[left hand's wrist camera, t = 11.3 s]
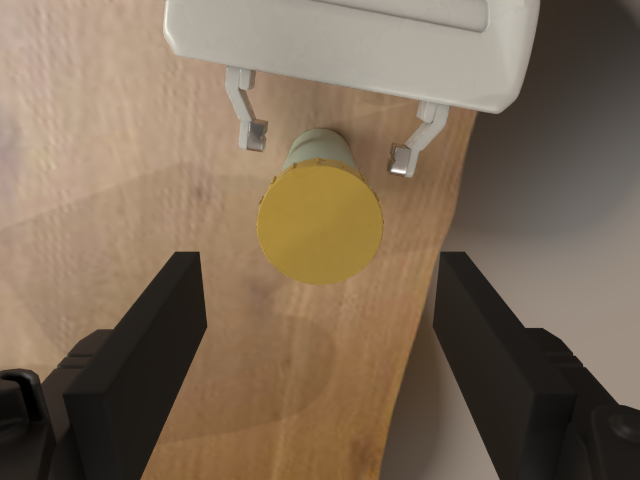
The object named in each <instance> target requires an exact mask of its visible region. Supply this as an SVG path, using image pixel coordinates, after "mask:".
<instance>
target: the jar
mask: <svg viewBox="0 0 640 480" xmlns="http://www.w3.org/2000/svg"><path fill="white" fill-rule="evenodd" d="M316 157H319V158H324V159H332V160H336V161H339V162H340V161H341V160H342V161H343V163H345V164H347V165H349V166H351V167H352V168H354V169H355V170H357V167H356V165H355V162H354V159H353V157H352V154H351V151H350V149H349V146H348V144H347V143H346V141H345V140H344V139H343V138H342V137H341V136H340V135H339V134H337V133H336V132H334V131H331V130H328V129H323V128H317V129H312V130H308V131H306V132H304V133H303V134H301V135H300V136H299V137H298V138H297V139H296V140H295V141H294V143H293V144H292V146H291V149H290V151H289V154H288V157H287V159H286V162H285V165H284V167H283V170H285V169H286V168H288V167H289V166H291V165H292V163H293V162H295V163H298V162H301V161H304V160H308V159H315V158H316ZM283 170H282V171H283ZM357 171H358V170H357Z"/></svg>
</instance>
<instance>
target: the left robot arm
mask: <svg viewBox="0 0 640 480" xmlns="http://www.w3.org/2000/svg"><path fill="white" fill-rule="evenodd" d="M206 328H207V319H206V310H205V300H204V291H203V281H202V272H201V262H200V253H199V252H175V253H174V254H173V255H172V257H171V258H170V259H169V260H168V262H167V263H166V264H165V265H164V267H163V268H162V269H161V270H160V272H159V273H158V274H157V275H156V277H155V278H154V279H153V280H152V282H151V283H150V284H149V285H148V287H147V288H146V289H145V290H144V292H143V293H142V294H141V295H140V297H139V298H138V299H137V301H136V302H135V303H134V304H133V306H132V307H131V308H130V309H129V311H128V312H127V313H126V314H125V316H124V317H123V318H122V319H121V321H120V322H119V323H118V324H117V326H116V327H115V328H114V329H98V330H96V331H95V332H93V333H91V334H90V335H88V336H87V337H85V338H83V339H82V340H80V341H79V342H78V343H77V344H76V345H75V347H74V348H73V349H72V350H71V351H70V352H69V353H68V354H67V357H65V358H64V359H63V360H62V361H61V362H60V363H59V365H58V366H57V369H54V370H53V371H52V372H51V374H50V375H49V376H48V377H47V378H46V379H45V380H44V381H43V383H42V384H41V383H40V380H39V376H38V375H37V374H36V373H34V372H33V371H32V370H26V369H10V370H3V371H0V480H140V479H141V477H142V474H143V472H144V470H145V467H146V465H147V463H148V461H149V458H150V456H151V454H152V452H153V449H154V447H155V445H156V442H157V440H158V438H159V436H160V433H161V431H162V429H163V426H164V424H165V422H166V420H167V417H168V415H169V413H170V410H171V408H172V406H173V404H174V401H175V399H176V397H177V395H178V392H179V390H180V388H181V385H182V383H183V381H184V379H185V376H186V374H187V372H188V369H189V367H190V365H191V363H192V360H193V358H194V356H195V353H196V351H197V349H198V347H199V344H200V342H201V340H202V338H203V335H204V333H205V331H206ZM433 328H434V331H435V333H436V335H437V338H438V340H439V342H440V344H441V347H442V349H443V351H444V353H445V356H446V358H447V360H448V362H449V365H450V367H451V369H452V372H453V374H454V376H455V379H456V381H457V383H458V385H459V388H460V390H461V392H462V394H463V397H464V399H465V401H466V404H467V406H468V408H469V410H470V413H471V415H472V417H473V420H474V422H475V424H476V426H477V429H478V431H479V433H480V436H481V438H482V440H483V442H484V445H485V447H486V449H487V452H488V454H489V456H490V458H491V461H492V463H493V465H494V467H495V470H496V472H497V474H498V477H499V479H500V480H640V410H637V409H634V408H631V407H628V406H625V405H619V404H618V403H617V402H616V401H615V400H614V398H613V397H612V396H611V395H610V394H609V393H608V392H607V391H606V389H605V388H604V387H603V386H602V385H601V384H600V383H599V382H598V381H597V379H596V378H595V377H594V376H593V375H592V374H591V373H590V372H589V370H588V369H587V368H586V367H583V364H582V363H581V361H580V360H579V359H578V358H577V357H576V356H573V353H572V351H571V350H570V349H569V348H568V347H567V346H566V345H565V344H564V342H563V341H562V340H561V339H559V338H558V337H556V336H554V335H553V334H551V333H550V332H548V331H546V330H545V329H543V328H525V327H524V326H523V324H522V323H521V322H520V321H519V319H518V318H517V317H516V316H515V314H514V313H513V312H512V311H511V309H510V308H509V307H508V306H507V304H506V303H505V302H504V301H503V299H502V298H501V297H500V295H499V294H498V293H497V292H496V290H495V289H494V288H493V287H492V285H491V284H490V283H489V282H488V280H487V279H486V278H485V277H484V275H483V274H482V273H481V272H480V270H479V269H478V268H477V267H476V265H475V264H474V263H473V262H472V260H471V259H470V258H469V257H468V255H467V254H466V253H465V252H441V253H440V262H439V272H438V281H437V291H436V301H435V310H434V319H433Z"/></svg>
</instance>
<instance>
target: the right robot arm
mask: <svg viewBox="0 0 640 480" xmlns="http://www.w3.org/2000/svg"><path fill="white" fill-rule="evenodd" d="M539 9H540V0H166V3H165V12H164V25H163V33H164V37H165V39H166V41H167V42H168V44H169V46H170V47H171V49H172V50H173V52H174V53H175V54H176V55H177V56H179V57H184V58H189V59H195V60H200V61H206V62H211V63H217V64H222V65H227V69H226V81H225V88H226V90H227V93H228V95H229V97H230V100H231V102H232V104H233V106H234V109H235V111H236V113H237V116H238V118H239V119H240V120H241V126H240V136H239V149H244V150H251V151H257V152H263V150H264V149H265V145H266V137H265V134H266V132H267V129H268V121H265V120H260V119H255V118H256V117H255V114H254V112H253V109H252V107H251V104H250V102H249V99H248V96H247V94H246V91H245V90H249V89H252V88H254V83H255V75H256V71H261V72H267V73H272V74H278V75H283V76H289V77H294V78H300V79H305V80H311V81H316V82H322V83H327V84H333V85H338V86H344V87H349V88H355V89H361V90H366V91H372V92H377V93H383V94H388V95H394V96H399V97H405V98H410V99H416V100H420V102H419V106H418V111H417V115H416V117H417V118H418V119H420V120H422V121H424V122H423V123H422V124H421V125H420V126H419V128H418V129H417V130H416V131H415V132H414V133H413V135H412V136H411V137H410V138H409V139H408V140H407V142H406V143H405V145H403V144H396V143H392V146H391V150H390V154H391V158H390V159H388V163H387V172H389V174H392V175H397V176H403V177H409V178H412V177H413V175H414V172H415V168H416V164H417V160H418V156H419V152H420V151H422V150H423V149H424V148H425V147H426V146H427V145H428V144H429V143H430V142H431V141H432V140H433V139H434V137H435V136H436V135H437V134H438V133H439V132H440V131H441V130H442V129H443V128H444V127H445V125H446V121H447V117H448V114H449V110H450V106H454V107H460V108H466V109H471V110H477V111H482V112H488V113H494V114H498V113H501V112H502V111H503V110H505V109H506V108H507V107H508V106H509V105H510V104H511V103H513V102H514V101H515V100H516V98H517V97H518V95H519V93H520V90H521V87H522V84H523V81H524V78H525V74H526V71H527V67H528V63H529V59H530V55H531V51H532V47H533V42H534V38H535V32H536V27H537V22H538V16H539Z"/></svg>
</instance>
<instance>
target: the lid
mask: <svg viewBox="0 0 640 480" xmlns="http://www.w3.org/2000/svg"><path fill="white" fill-rule="evenodd" d="M378 201H379V198H378V196H377V194H376V192H374V191H373V189H372V188H371V186H370V184H369V183H368V181H367V180H366V179H365V177H364V175H363V173H361V174H360V173H359V172H358V171H357V170H355V169H354V168H352V167H351V166H349V165H347V164H345V163H343V161H342V160H341V161H340V162H339V161H336V160H332V159H324V158H319V157H316V158H315V159H308V160H304V161H301V162H298V163H295V162H293V163H292V165H291V166H289V167H288V168H286V169H285V170H283V171H282V172H281V173H280V174H279V175H278V176H277V177H276V176H274V177H273V180H272V182H271V184H270V186H269V187H268V189H267V191H266V193H265V196H262V199H261V201H260V203H259V205H260V208H259V211H258V217H257V226H256V228H257V234H258V239H259V242H260V245H261V248H262V250H263V252H264V254H265V255H266V257H267V258H268V260H269V261H270V262H271V263H272V264H273V265H274V267H275V268H277V269H278V270H279V271H280V272H281V273H283V274H285V275H286V276H288V277H290V278H292V279H294V280H296V281H299V282H302V283H307V284H313V285H327V284H334V283H337V282H341V281H344V280H346V279H348V278H350V277H352V276H354V275H356V274H357V273H358V272H360V271H361V270H362V269H363V268H364V267H366V266H367V265H368V263H369V262H370V261H371V260H372V258H373V257H374V255H375V254H376V252H377V250H378V248H379V245H380V242H381V239H382V234H383V224H384V221H383V217H382V212H381V208H380V205H379V203H378Z"/></svg>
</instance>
